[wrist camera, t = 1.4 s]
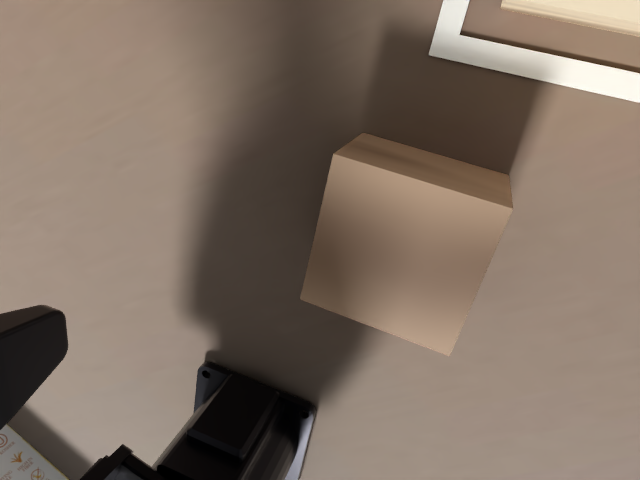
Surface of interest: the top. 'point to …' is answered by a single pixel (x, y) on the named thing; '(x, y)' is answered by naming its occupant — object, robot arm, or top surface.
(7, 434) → the cereal box
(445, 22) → the blueprint lines
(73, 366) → the top surface
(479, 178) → the light brown wooden block
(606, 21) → the maple block
